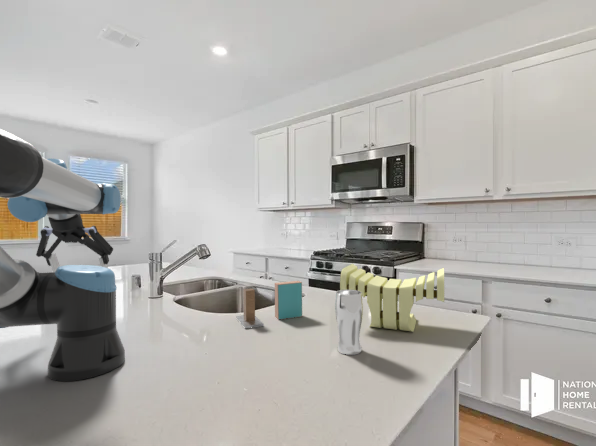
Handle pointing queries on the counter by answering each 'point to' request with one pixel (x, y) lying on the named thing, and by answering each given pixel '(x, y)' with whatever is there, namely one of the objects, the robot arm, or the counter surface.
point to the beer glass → (349, 320)
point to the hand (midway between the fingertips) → (82, 272)
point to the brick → (288, 299)
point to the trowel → (249, 310)
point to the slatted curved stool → (391, 295)
